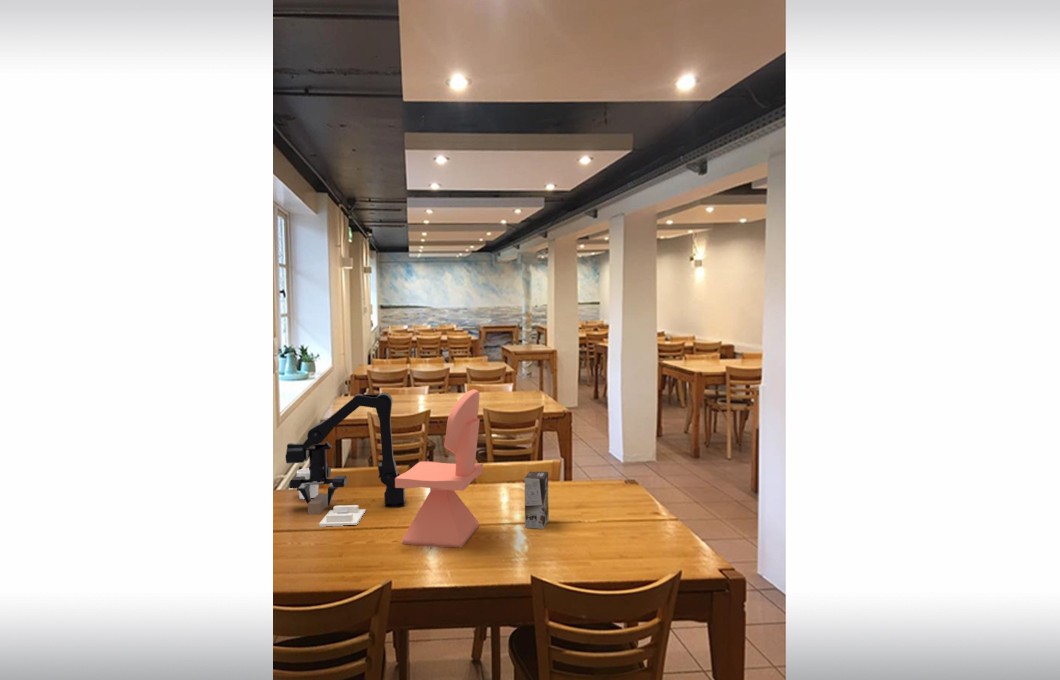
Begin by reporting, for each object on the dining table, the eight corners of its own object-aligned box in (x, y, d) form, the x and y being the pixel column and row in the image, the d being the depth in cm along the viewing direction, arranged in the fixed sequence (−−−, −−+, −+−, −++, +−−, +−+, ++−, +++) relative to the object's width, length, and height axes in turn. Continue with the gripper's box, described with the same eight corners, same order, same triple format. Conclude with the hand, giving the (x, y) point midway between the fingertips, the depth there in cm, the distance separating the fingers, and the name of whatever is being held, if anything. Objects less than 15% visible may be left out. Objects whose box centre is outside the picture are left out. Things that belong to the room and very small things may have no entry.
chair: (425, 519, 218) (422, 383, 216) (491, 522, 214) (488, 384, 211) (392, 549, 192) (388, 395, 189) (466, 554, 187) (463, 396, 185)
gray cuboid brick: (319, 504, 237) (318, 493, 236) (330, 504, 237) (330, 493, 236) (308, 515, 225) (307, 503, 224) (319, 515, 225) (319, 503, 224)
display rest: (365, 512, 226) (365, 503, 226) (356, 525, 212) (356, 516, 212) (330, 513, 226) (330, 504, 226) (319, 526, 212) (318, 517, 212)
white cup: (315, 500, 241) (314, 473, 241) (294, 500, 241) (293, 473, 241) (322, 493, 249) (321, 467, 248) (302, 494, 249) (301, 467, 249)
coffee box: (544, 529, 207) (543, 478, 206) (524, 528, 208) (523, 477, 207) (549, 519, 216) (548, 471, 215) (530, 518, 217) (529, 470, 216)
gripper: (350, 455, 238) (351, 498, 239) (297, 457, 237) (299, 499, 238) (343, 463, 227) (344, 508, 228) (288, 464, 226) (289, 509, 227)
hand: (319, 506), depth 231 cm, fingers open, 6 cm apart
